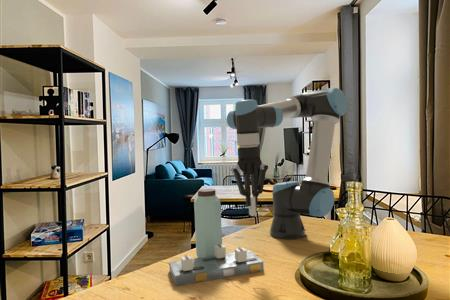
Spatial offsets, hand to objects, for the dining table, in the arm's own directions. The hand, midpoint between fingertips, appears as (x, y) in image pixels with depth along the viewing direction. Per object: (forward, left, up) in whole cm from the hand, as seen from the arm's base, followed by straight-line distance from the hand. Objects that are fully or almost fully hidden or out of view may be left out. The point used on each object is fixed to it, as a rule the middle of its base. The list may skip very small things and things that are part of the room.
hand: (252, 214), depth 115 cm
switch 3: (+6, +3, -14) cm, 15 cm away
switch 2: (+11, -3, -14) cm, 18 cm away
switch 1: (+24, +3, -14) cm, 28 cm away
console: (+14, 0, -17) cm, 22 cm away
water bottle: (+13, -13, -17) cm, 25 cm away
